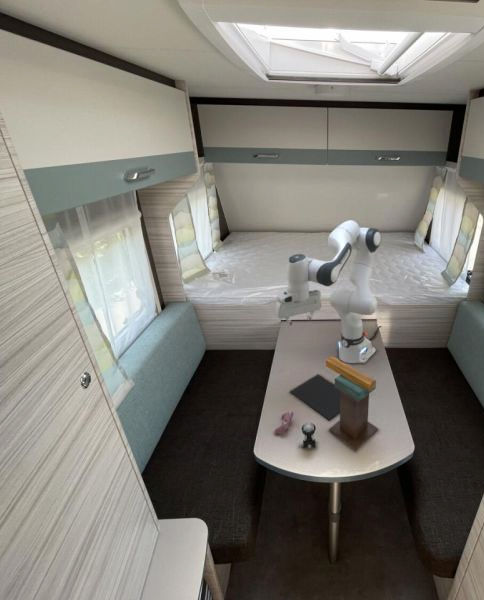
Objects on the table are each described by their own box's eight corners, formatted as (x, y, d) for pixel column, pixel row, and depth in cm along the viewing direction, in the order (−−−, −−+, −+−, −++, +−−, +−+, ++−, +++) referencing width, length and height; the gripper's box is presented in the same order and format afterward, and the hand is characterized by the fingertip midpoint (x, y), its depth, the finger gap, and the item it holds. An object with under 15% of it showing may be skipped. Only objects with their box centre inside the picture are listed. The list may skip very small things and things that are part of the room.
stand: (351, 413, 143) (353, 363, 132) (377, 430, 134) (381, 379, 123) (329, 431, 133) (329, 379, 123) (355, 450, 125) (357, 397, 114)
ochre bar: (331, 362, 133) (331, 356, 132) (374, 386, 119) (375, 380, 118) (325, 366, 131) (325, 359, 129) (369, 391, 117) (369, 384, 116)
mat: (317, 375, 167) (317, 374, 167) (356, 399, 150) (356, 398, 150) (290, 392, 155) (290, 391, 155) (329, 420, 139) (329, 419, 138)
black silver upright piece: (298, 451, 124) (297, 432, 120) (299, 440, 129) (298, 421, 125) (316, 450, 125) (315, 431, 120) (316, 439, 129) (315, 420, 125)
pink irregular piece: (283, 438, 132) (289, 428, 128) (273, 433, 132) (279, 422, 128) (290, 420, 140) (297, 410, 137) (281, 415, 140) (287, 405, 137)
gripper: (317, 286, 145) (317, 314, 150) (273, 295, 135) (275, 324, 141) (323, 291, 140) (324, 320, 145) (278, 300, 130) (280, 330, 136)
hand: (299, 322), depth 143 cm, fingers open, 8 cm apart
